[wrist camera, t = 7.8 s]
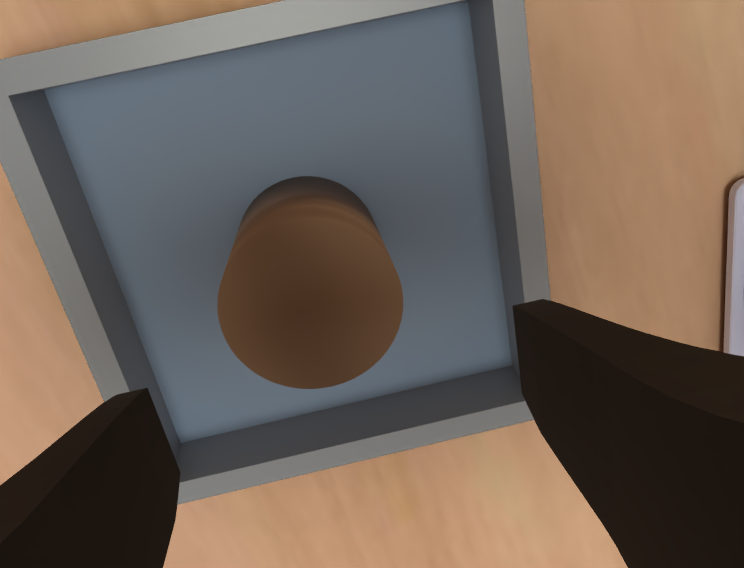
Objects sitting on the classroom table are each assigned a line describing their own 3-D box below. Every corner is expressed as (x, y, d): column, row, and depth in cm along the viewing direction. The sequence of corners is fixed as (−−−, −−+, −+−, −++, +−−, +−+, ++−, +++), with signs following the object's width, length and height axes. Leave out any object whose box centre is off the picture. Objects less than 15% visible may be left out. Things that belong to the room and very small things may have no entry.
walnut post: (362, 162, 18) (385, 200, 13) (388, 293, 20) (417, 366, 15) (219, 193, 18) (192, 242, 13) (258, 322, 20) (246, 406, 15)
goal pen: (489, -36, 17) (519, -49, 15) (532, 375, 22) (560, 413, 20) (7, 65, 16) (-41, 67, 14) (167, 461, 21) (151, 510, 19)
